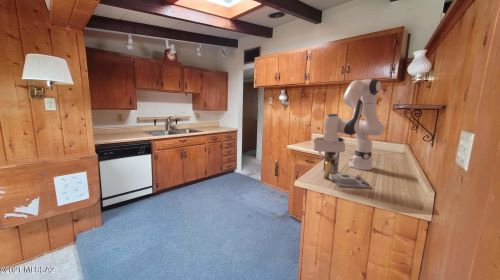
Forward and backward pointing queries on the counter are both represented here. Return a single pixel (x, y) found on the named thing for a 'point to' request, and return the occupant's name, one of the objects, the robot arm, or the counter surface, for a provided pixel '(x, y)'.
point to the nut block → (350, 181)
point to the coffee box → (332, 161)
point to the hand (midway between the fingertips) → (328, 157)
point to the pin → (327, 170)
